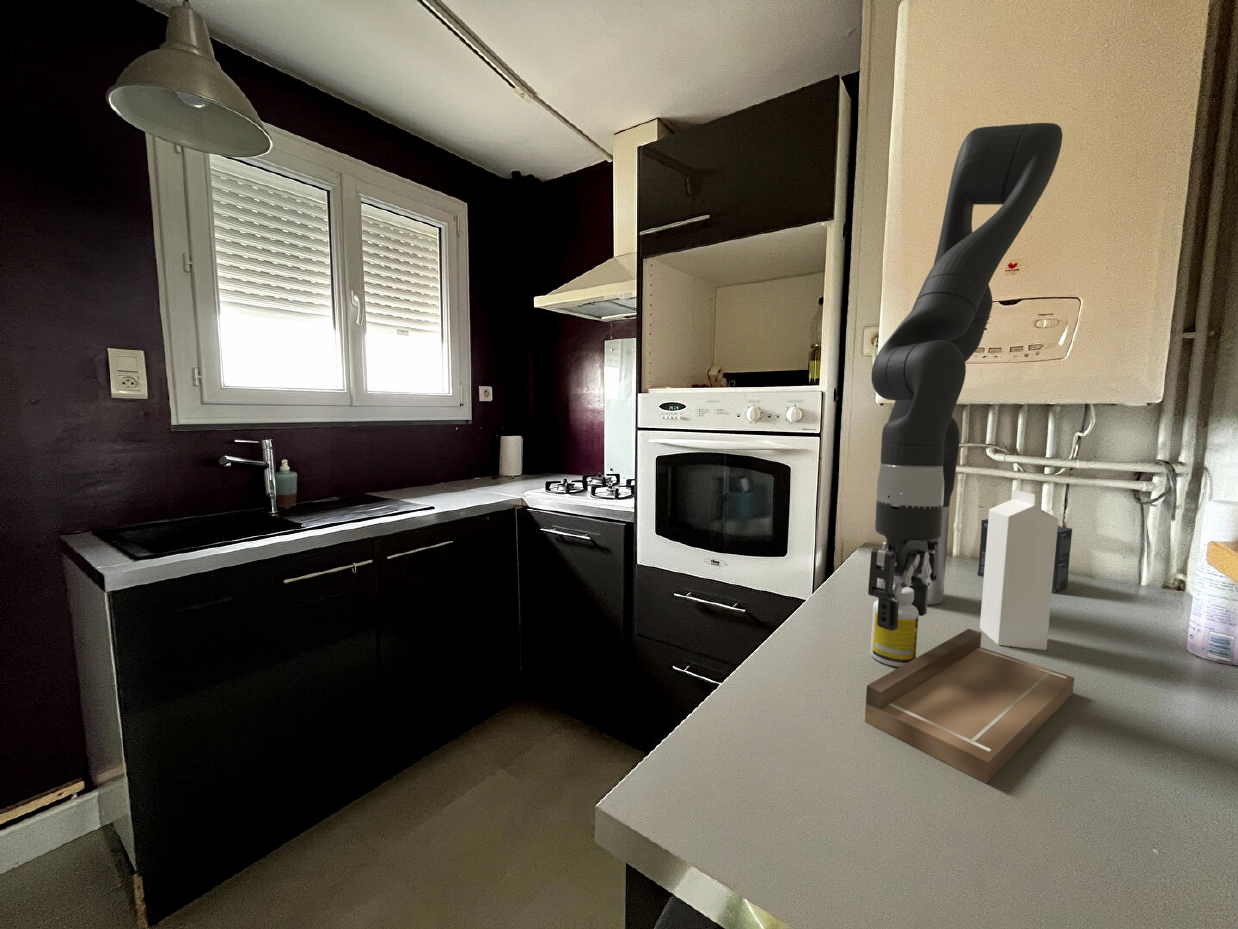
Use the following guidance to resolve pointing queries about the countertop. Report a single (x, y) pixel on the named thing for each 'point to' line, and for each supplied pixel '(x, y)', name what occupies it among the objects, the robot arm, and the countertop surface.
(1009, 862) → the countertop surface
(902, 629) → the supplement bottle
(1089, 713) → the countertop surface
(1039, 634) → the milk
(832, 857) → the countertop surface
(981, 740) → the board
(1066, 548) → the small box
